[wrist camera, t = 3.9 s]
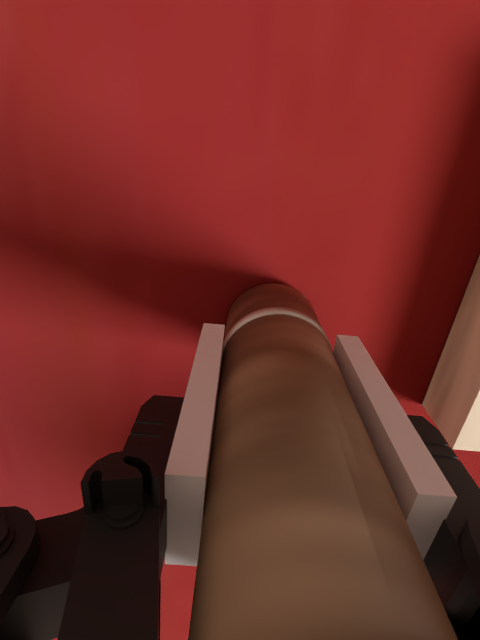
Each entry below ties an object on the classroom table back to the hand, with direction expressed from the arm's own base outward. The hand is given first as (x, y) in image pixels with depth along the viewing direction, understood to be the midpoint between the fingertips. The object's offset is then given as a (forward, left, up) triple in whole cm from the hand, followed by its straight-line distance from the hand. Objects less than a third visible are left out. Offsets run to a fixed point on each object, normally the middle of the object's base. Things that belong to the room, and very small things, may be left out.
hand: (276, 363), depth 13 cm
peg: (0, 0, -3) cm, 3 cm away
